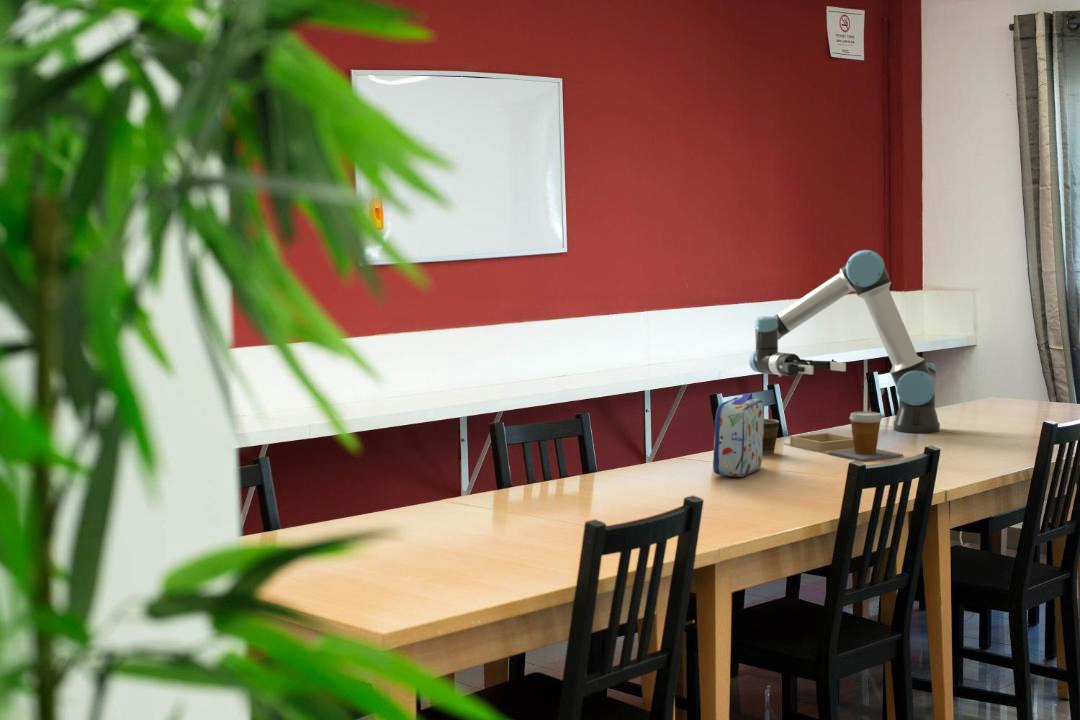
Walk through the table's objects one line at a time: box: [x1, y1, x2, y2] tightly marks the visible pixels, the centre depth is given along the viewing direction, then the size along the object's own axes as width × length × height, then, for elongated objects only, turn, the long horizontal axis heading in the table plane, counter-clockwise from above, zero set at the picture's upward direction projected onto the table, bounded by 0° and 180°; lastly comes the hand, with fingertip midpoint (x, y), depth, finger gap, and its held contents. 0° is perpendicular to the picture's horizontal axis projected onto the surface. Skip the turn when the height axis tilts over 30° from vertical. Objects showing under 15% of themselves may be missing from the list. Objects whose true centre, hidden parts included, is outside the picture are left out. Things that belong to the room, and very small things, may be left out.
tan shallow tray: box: [783, 432, 854, 455], centre depth 407 cm, size 15×21×3 cm
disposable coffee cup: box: [849, 411, 883, 455], centre depth 390 cm, size 10×10×12 cm
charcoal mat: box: [827, 448, 904, 463], centre depth 390 cm, size 16×15×1 cm
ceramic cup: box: [762, 418, 780, 456], centre depth 395 cm, size 13×10×10 cm
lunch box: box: [712, 392, 765, 478], centre depth 364 cm, size 28×10×22 cm, turn 158°
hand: (829, 368), depth 414 cm, fingers open, 13 cm apart
